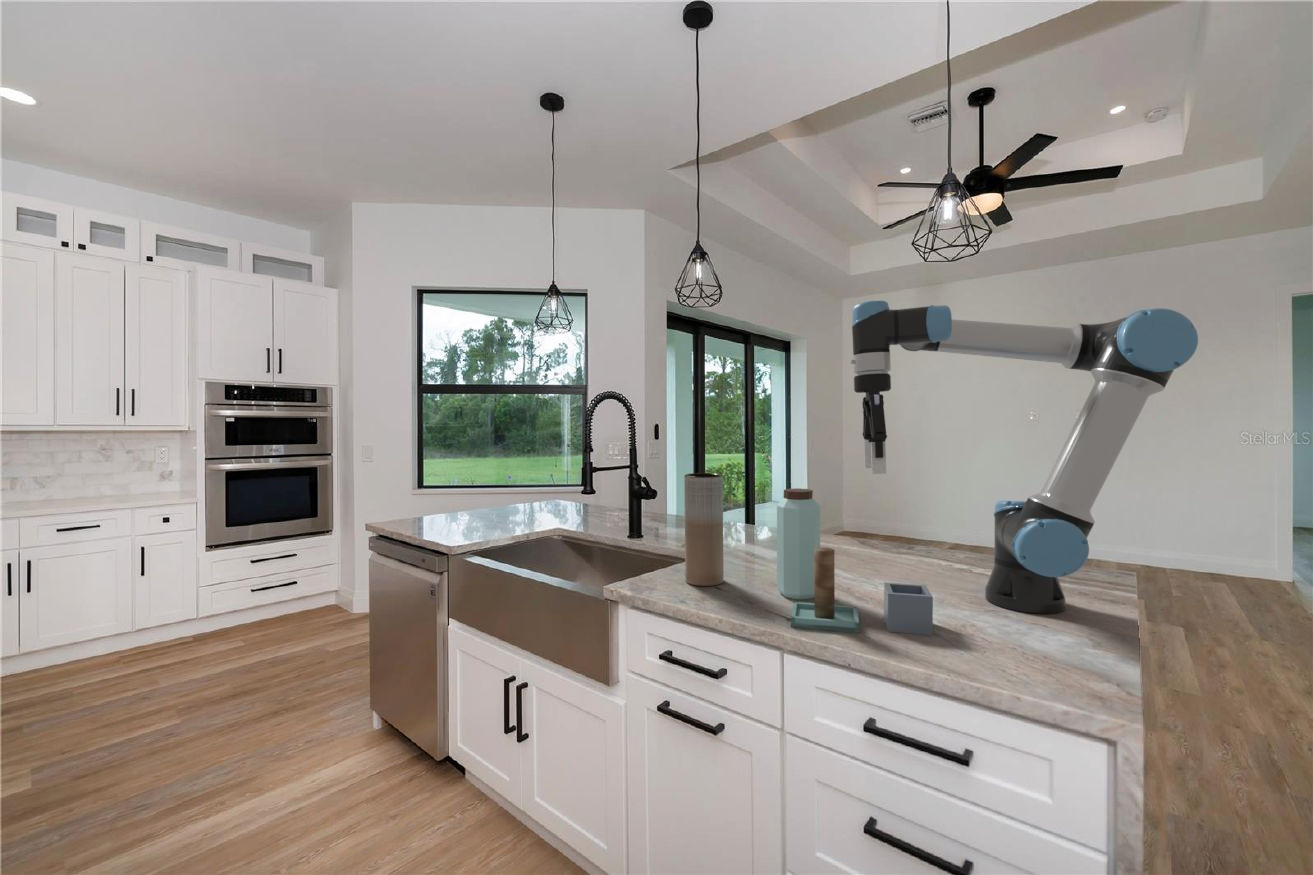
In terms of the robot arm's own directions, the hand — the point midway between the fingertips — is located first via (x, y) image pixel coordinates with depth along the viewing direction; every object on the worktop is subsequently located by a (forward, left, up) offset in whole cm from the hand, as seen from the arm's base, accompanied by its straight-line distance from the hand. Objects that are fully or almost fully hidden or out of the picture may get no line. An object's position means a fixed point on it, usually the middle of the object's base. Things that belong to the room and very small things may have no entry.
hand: (874, 470), depth 125 cm
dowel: (+11, +12, -29) cm, 33 cm away
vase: (+41, -11, -31) cm, 52 cm away
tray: (+11, +12, -30) cm, 34 cm away
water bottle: (+17, -6, -31) cm, 35 cm away
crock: (-5, +10, -30) cm, 32 cm away
